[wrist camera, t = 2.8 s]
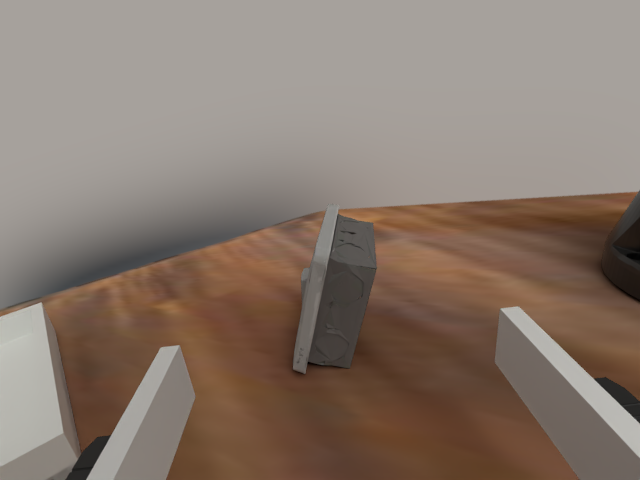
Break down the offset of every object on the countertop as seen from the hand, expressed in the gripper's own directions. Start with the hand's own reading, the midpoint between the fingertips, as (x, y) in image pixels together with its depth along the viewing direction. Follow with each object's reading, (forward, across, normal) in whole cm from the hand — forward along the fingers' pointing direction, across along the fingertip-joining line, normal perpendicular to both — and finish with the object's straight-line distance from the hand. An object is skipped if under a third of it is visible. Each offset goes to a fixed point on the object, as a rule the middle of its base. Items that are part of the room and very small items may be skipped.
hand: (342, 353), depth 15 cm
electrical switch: (+11, 0, -7) cm, 13 cm away
